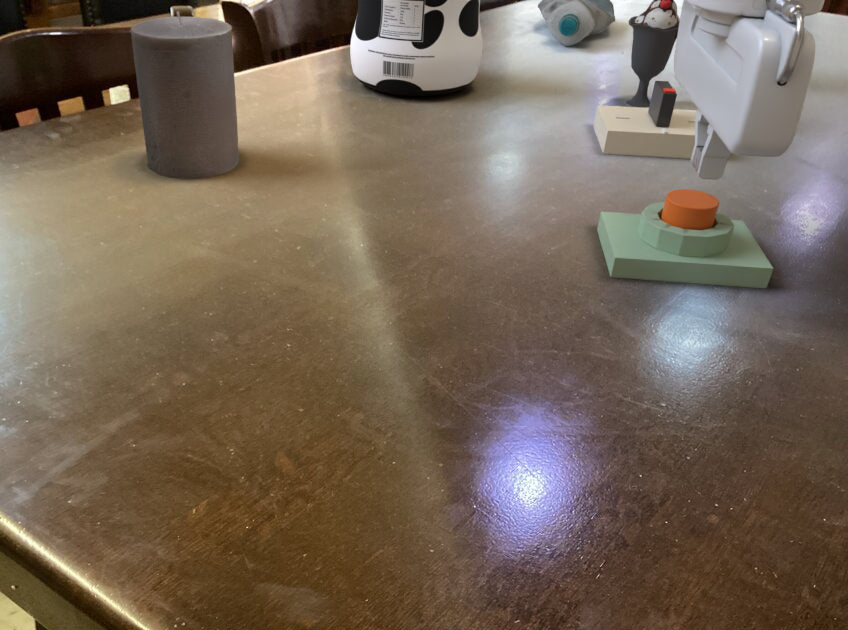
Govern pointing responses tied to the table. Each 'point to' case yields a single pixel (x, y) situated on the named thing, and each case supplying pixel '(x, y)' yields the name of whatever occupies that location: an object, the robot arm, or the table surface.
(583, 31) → the detergent
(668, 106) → the black plate
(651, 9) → the sundae
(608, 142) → the cream flat block
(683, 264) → the button block
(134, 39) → the pillar candle
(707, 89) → the robot arm
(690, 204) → the button
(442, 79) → the milk container
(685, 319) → the table surface
